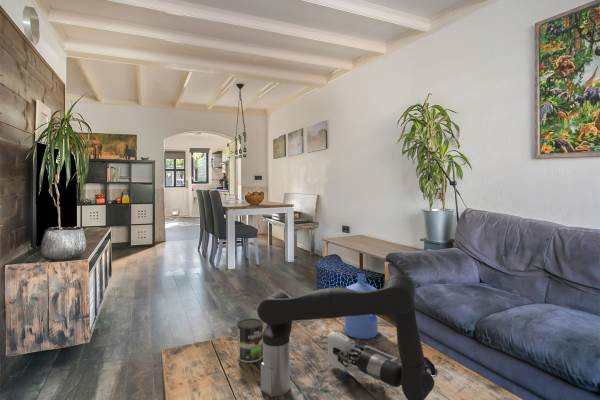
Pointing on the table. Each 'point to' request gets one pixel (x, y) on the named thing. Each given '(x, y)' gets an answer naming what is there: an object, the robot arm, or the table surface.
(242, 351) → the coffee can
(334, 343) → the photo printer
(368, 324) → the water jug
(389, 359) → the dock
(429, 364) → the computer mouse
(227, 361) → the table surface
